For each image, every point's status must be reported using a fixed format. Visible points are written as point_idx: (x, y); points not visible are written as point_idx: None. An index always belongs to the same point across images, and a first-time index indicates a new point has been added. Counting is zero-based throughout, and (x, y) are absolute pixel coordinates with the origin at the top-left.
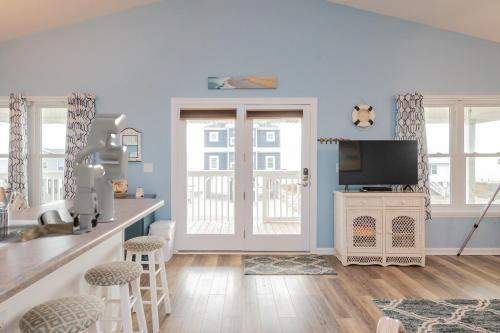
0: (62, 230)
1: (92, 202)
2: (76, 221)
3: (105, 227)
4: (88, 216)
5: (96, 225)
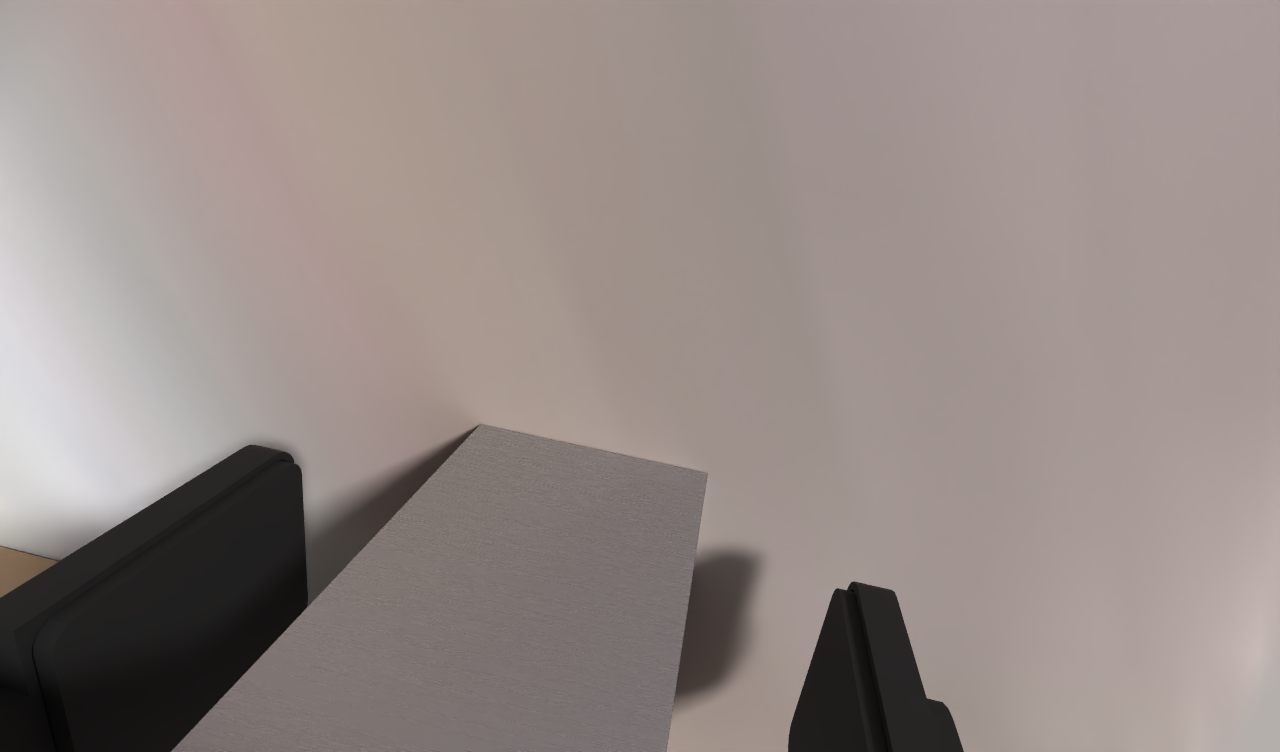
0: None
1: None
2: (177, 701)
3: (1116, 52)
4: None
5: (894, 606)
